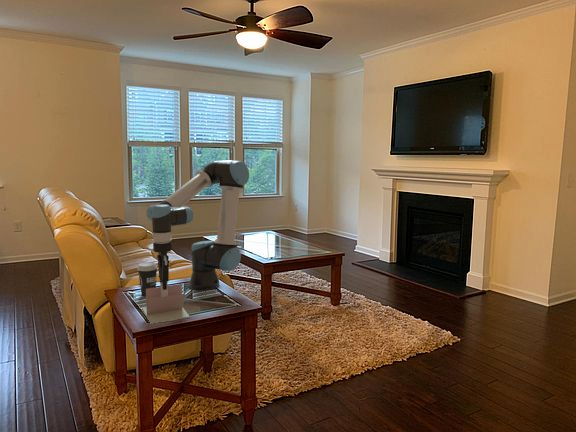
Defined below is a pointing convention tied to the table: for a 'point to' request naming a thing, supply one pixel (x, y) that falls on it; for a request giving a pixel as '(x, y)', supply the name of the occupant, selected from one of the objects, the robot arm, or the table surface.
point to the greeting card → (164, 299)
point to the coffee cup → (147, 276)
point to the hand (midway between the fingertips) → (164, 296)
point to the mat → (166, 315)
